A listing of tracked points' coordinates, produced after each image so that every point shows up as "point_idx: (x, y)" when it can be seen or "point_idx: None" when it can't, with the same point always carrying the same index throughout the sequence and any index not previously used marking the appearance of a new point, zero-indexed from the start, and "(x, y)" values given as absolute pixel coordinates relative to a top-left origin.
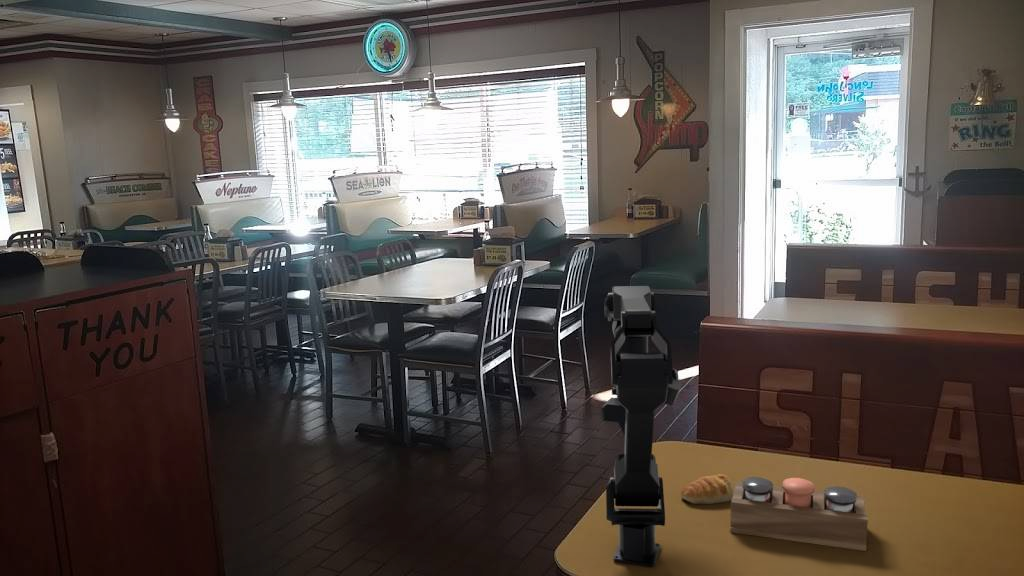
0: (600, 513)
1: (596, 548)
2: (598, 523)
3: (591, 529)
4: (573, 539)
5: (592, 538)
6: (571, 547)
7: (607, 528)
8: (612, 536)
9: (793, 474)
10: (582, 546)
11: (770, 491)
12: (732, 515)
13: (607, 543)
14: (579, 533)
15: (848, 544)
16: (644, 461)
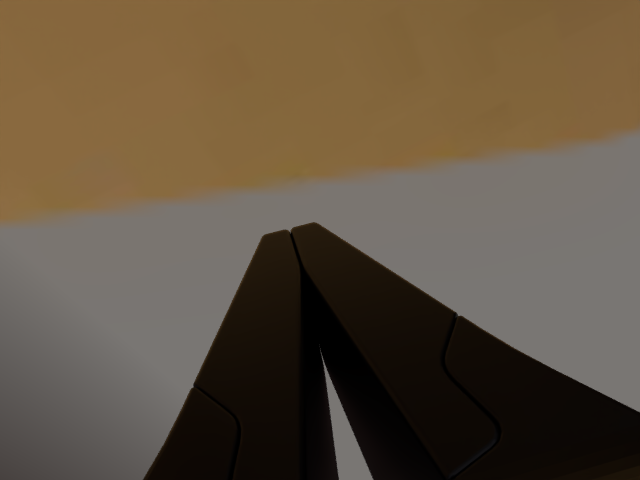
0: (322, 157)
1: (599, 35)
2: (406, 124)
3: (462, 124)
4: (551, 145)
5: (528, 87)
6: (607, 123)
7: (433, 71)
8: (492, 18)
9: None
10: (593, 91)
11: None
12: None
13: (553, 11)
14: (504, 148)
15: None
16: None
